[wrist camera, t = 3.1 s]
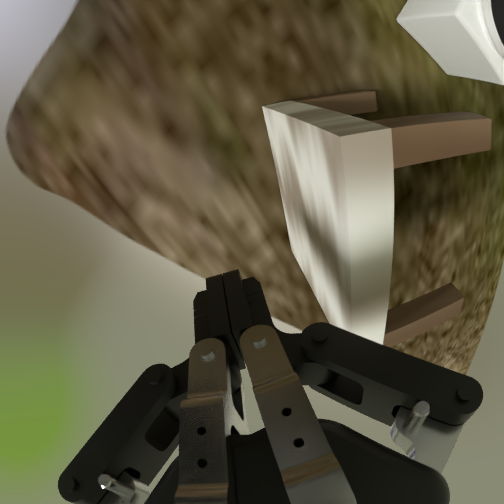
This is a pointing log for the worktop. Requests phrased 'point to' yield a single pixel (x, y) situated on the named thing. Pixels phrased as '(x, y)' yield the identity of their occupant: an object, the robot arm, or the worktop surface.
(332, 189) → the footstool
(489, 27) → the medicine bottle
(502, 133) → the worktop surface
